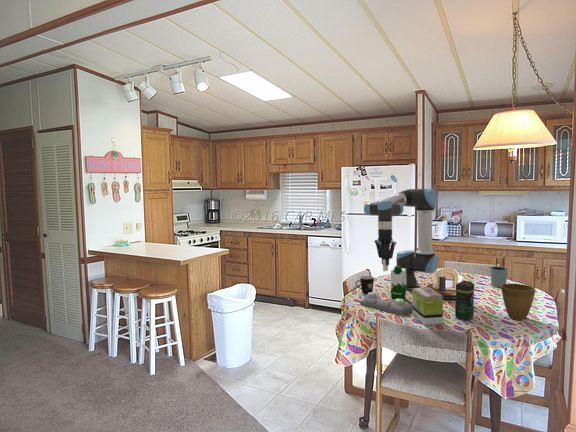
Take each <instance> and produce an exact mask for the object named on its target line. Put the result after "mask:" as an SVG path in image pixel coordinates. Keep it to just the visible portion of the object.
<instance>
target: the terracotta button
mask: <svg viewBox="0 0 576 432" xmlns="http://www.w3.org/2000/svg"><path fill="white" fill-rule="evenodd" d="M389 298H390V297H386V298H383V297H381V300H382V301H386V302H387V301H390V299H391V298H390V299H389Z"/></svg>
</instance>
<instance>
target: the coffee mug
mask: <svg viewBox="0 0 576 432" xmlns="http://www.w3.org/2000/svg"><path fill="white" fill-rule="evenodd" d="M359 279H360V280H356V281H355V286H356V287H357V288H358V289H360V290H361V293H362V294H363V293H364V294H363V295H368V293H369V292H374V291H373V290H374V279H375V277H374V276H372V275H362V276H360V278H359ZM358 282H360V286H359V285H358Z"/></svg>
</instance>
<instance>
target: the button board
mask: <svg viewBox="0 0 576 432" xmlns="http://www.w3.org/2000/svg"><path fill="white" fill-rule="evenodd" d="M381 298H387V297H384V296H383V297H382V296H380V295H377V294H376V298H370V297H368V294H366V295H364V296H363V299H361V300H359V305H361V306H365V307H369V308H373V309H377V310H380V311H383V312H388V313H392V314H396V315H400V316H402V317H403V316H405V315H407V314H409V313H411V312H412V306H409V302H406V301H404V304H403V305H398V304H395V300H394V299H391V297H388V298H389V299H390V301H387V302H386V301H382V300H381Z"/></svg>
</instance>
